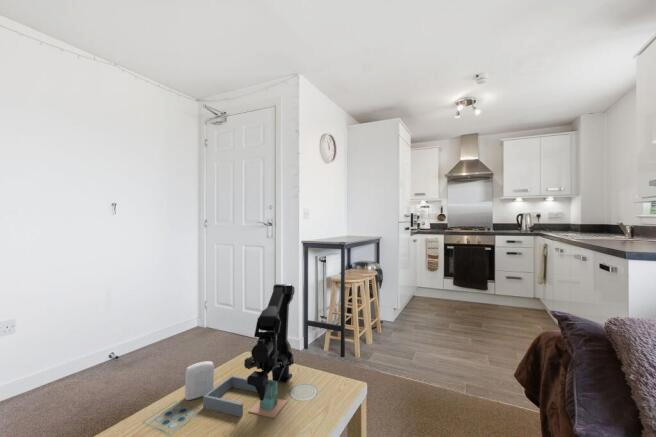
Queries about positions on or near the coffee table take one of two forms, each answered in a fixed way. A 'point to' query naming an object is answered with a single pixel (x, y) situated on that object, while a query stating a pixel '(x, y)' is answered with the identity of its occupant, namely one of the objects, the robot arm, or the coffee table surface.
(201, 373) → the photo printer
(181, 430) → the coffee table surface
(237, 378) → the open-front gray frame
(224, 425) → the coffee table surface
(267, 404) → the teal block
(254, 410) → the terracotta mat
